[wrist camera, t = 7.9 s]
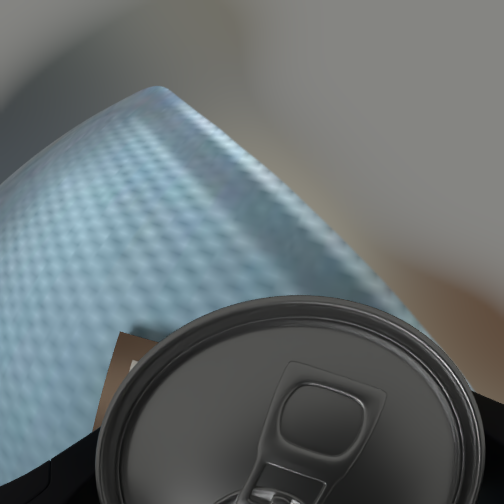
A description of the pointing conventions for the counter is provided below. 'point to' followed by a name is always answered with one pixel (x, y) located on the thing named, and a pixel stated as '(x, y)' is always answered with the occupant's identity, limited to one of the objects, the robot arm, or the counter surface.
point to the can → (292, 412)
